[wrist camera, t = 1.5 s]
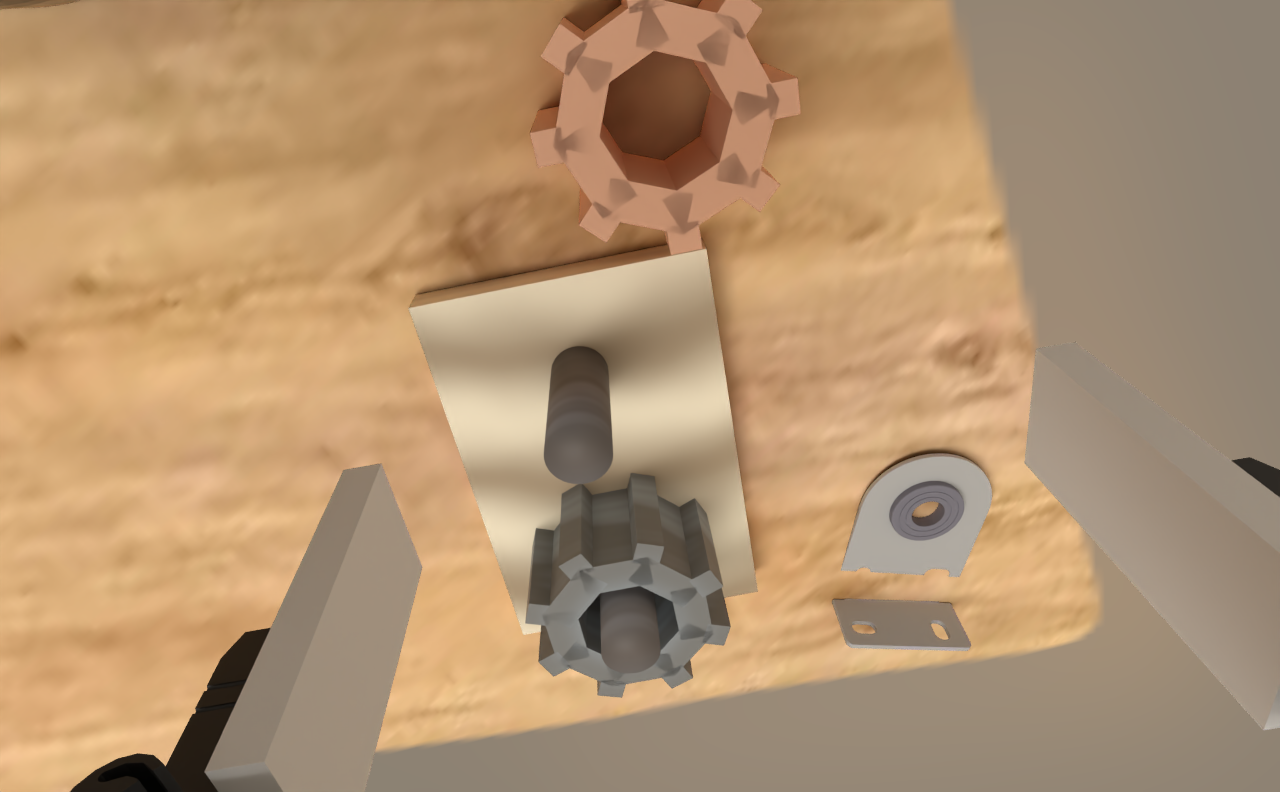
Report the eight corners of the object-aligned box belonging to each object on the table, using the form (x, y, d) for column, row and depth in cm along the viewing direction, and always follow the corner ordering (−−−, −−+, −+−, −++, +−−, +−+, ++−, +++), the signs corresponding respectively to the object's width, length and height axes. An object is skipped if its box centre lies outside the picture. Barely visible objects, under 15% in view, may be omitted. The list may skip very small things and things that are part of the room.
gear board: (415, 295, 32) (368, 382, 25) (701, 237, 32) (734, 310, 25) (525, 613, 41) (512, 746, 34) (752, 571, 40) (787, 696, 33)
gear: (495, 68, 28) (478, 83, 24) (691, -78, 27) (711, -90, 22) (622, 252, 32) (628, 295, 27) (802, 134, 30) (840, 160, 26)
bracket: (1001, 448, 38) (1037, 489, 35) (944, 603, 43) (972, 651, 40) (872, 441, 37) (897, 482, 34) (828, 600, 42) (847, 648, 39)
